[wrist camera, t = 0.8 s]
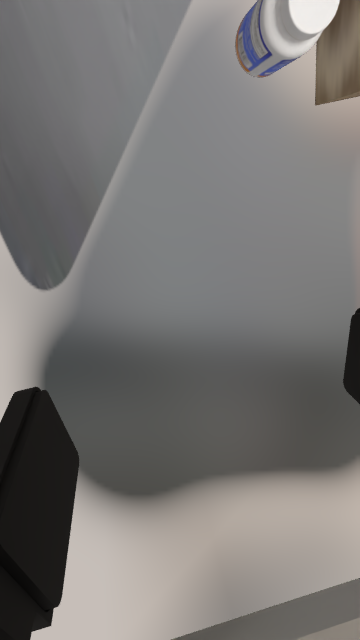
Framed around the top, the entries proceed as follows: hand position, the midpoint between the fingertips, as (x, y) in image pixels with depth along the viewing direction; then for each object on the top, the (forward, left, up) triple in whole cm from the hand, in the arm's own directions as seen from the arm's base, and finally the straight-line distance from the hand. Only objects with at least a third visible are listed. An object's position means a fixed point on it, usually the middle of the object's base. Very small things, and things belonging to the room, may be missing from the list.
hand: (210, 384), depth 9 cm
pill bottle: (-14, +15, -30) cm, 36 cm away
